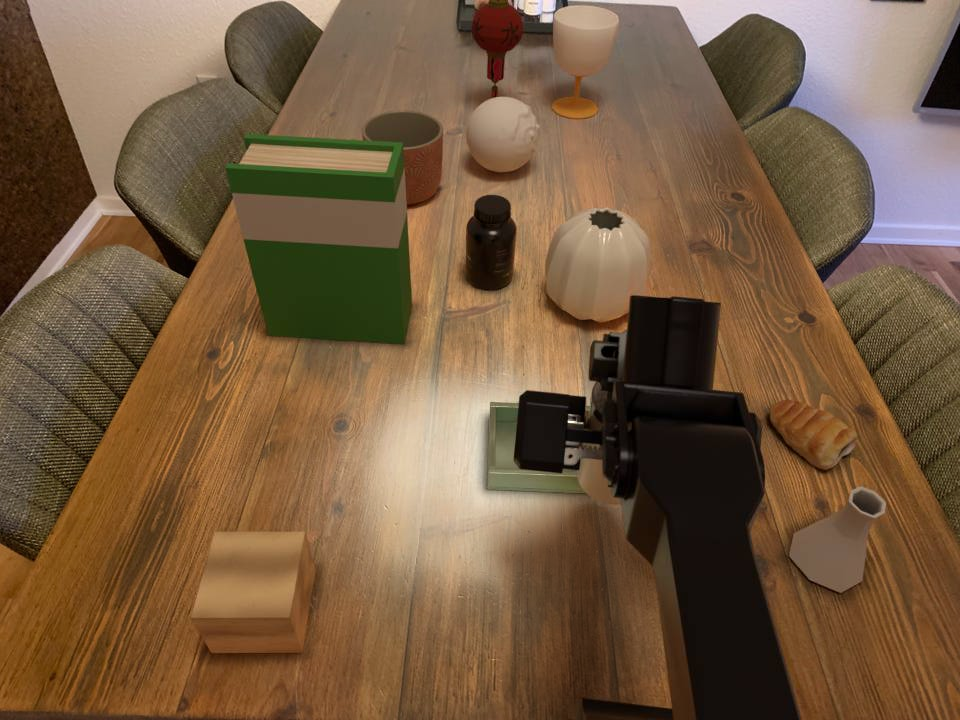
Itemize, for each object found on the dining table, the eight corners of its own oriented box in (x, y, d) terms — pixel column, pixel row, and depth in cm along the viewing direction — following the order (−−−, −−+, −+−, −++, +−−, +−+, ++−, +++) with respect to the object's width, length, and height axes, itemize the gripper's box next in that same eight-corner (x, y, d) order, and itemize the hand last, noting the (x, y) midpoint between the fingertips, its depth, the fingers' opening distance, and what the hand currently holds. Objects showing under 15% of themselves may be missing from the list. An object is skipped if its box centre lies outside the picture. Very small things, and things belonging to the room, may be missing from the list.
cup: (564, 89, 144) (574, 0, 132) (615, 106, 140) (631, 15, 128) (533, 110, 137) (541, 18, 125) (585, 128, 133) (599, 34, 121)
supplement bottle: (455, 276, 101) (455, 203, 92) (487, 255, 104) (490, 183, 96) (490, 298, 97) (494, 225, 89) (523, 276, 101) (529, 203, 93)
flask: (809, 513, 74) (847, 455, 67) (877, 559, 71) (924, 502, 64) (775, 557, 71) (810, 500, 63) (844, 607, 67) (890, 553, 60)
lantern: (485, 124, 133) (491, -55, 112) (460, 104, 139) (462, -71, 117) (527, 114, 136) (541, -62, 115) (502, 94, 142) (510, -77, 121)
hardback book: (267, 335, 91) (225, 167, 74) (283, 298, 96) (246, 133, 79) (404, 344, 91) (393, 177, 74) (412, 306, 96) (403, 142, 79)
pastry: (753, 426, 82) (763, 404, 80) (785, 399, 86) (796, 377, 83) (826, 477, 78) (840, 456, 75) (857, 446, 81) (871, 425, 78)
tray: (665, 496, 75) (671, 480, 73) (487, 489, 75) (488, 472, 73) (652, 425, 82) (657, 408, 80) (489, 418, 82) (490, 401, 80)
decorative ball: (522, 192, 117) (527, 123, 108) (455, 176, 120) (454, 108, 111) (544, 158, 125) (551, 92, 116) (481, 144, 127) (483, 79, 119)
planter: (398, 221, 110) (393, 157, 102) (352, 187, 116) (345, 125, 109) (459, 194, 116) (459, 131, 108) (413, 163, 122) (410, 102, 114)
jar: (582, 507, 64) (599, 430, 57) (570, 450, 69) (585, 371, 61) (653, 504, 65) (680, 427, 57) (636, 447, 69) (660, 368, 62)
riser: (302, 653, 63) (289, 617, 58) (211, 653, 62) (190, 618, 57) (316, 569, 68) (305, 531, 63) (232, 570, 68) (214, 531, 63)
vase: (524, 283, 100) (532, 201, 90) (610, 261, 104) (625, 180, 95) (571, 346, 91) (585, 263, 82) (662, 320, 95) (685, 237, 86)
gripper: (801, 347, 48) (732, 351, 64) (526, 321, 49) (525, 332, 65) (786, 510, 48) (720, 475, 64) (511, 481, 49) (513, 453, 65)
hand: (619, 430), depth 64 cm, fingers closed on jar, 6 cm apart
